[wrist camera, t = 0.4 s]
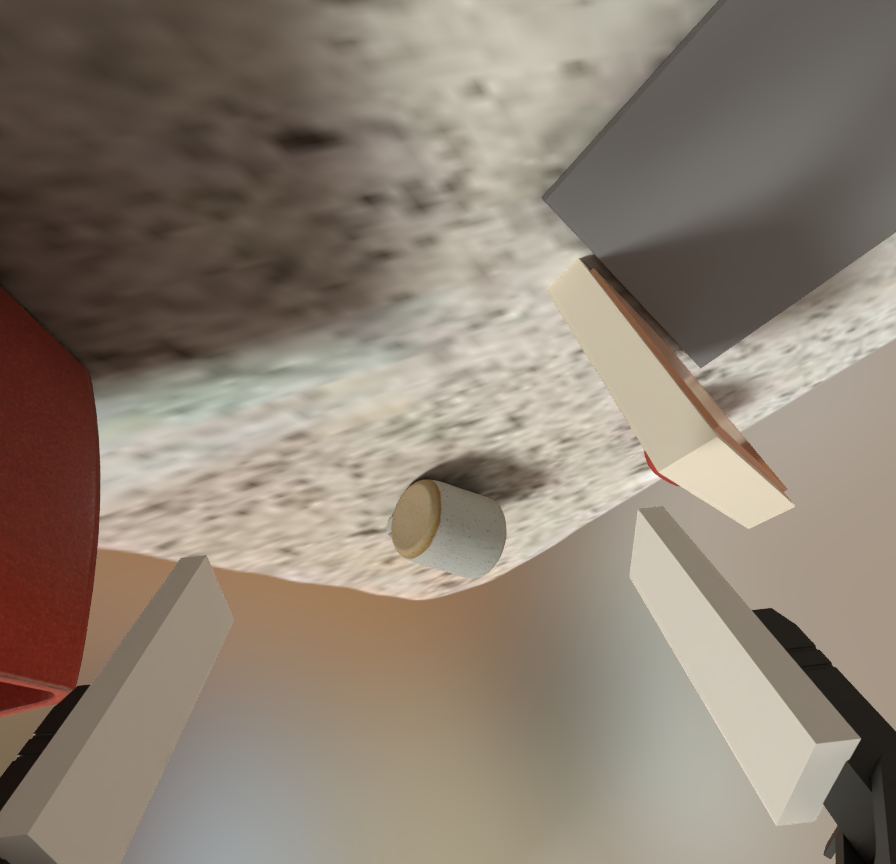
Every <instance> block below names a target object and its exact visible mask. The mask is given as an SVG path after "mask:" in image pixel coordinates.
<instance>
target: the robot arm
mask: <svg viewBox="0 0 896 864" xmlns="http://www.w3.org/2000/svg"><path fill="white" fill-rule="evenodd" d="M630 579H631V580H632V582H633V584H634V585H635V587H636V589H637V590H638V592H639V594H640V595H641V597H642V599H643V600H644V602H645V604H646V606H647V607H648V609H649V611H650V612H651V614H652V616H653V618H654V619H655V621H656V623H657V624H658V626H659V628H660V629H661V631H662V633H663V635H664V636H665V638H666V640H667V641H668V643H669V645H670V646H671V648H672V650H673V652H674V653H675V655H676V657H677V658H678V660H679V662H680V663H681V665H682V667H683V668H684V670H685V672H686V674H687V675H688V677H689V679H690V680H691V682H692V684H693V685H694V687H695V689H696V691H697V692H698V694H699V695H700V697H701V699H702V701H703V702H704V704H705V706H706V708H707V709H708V711H709V712H710V714H711V716H712V718H713V719H714V721H715V723H716V724H717V726H718V728H719V730H720V731H721V733H722V735H723V736H724V738H725V739H726V741H727V743H728V745H729V746H730V748H731V750H732V751H733V753H734V755H735V757H736V758H737V760H738V762H739V764H740V765H741V767H742V769H743V770H744V772H745V774H746V775H747V777H748V779H749V780H750V782H751V784H752V786H753V787H754V789H755V791H756V792H757V794H758V796H759V797H760V799H761V801H762V803H763V804H764V806H765V808H766V809H767V811H768V813H769V814H770V816H771V818H772V820H773V821H774V823H775V825H776V826H779V825H789V824H798V823H806V822H814V821H815V820H816V819H817V817H818V815H819V813H820V811H821V810H822V808H823V806H825V807H826V809H827V810H828V812H829V813H830V815H831V816H832V817H833V819H834V820H835V822H836V823H837V825H838V826H837V828H836V829H835V831H834V833H833V834H832V836H831V838H830V839H829V841H828V843H827V845H826V848H825V851H824V856H826V857H828V858H829V859H831V858H832V857H833V855H834V854H835V852H836V864H896V731H895V730H894V729H893V728H892V727H891V726H890V725H889V724H888V723H887V722H886V721H885V719H884V718H883V717H882V716H881V715H880V714H879V713H878V712H877V711H876V710H875V709H874V708H873V707H872V706H871V704H870V703H869V702H868V701H867V700H866V699H865V698H864V697H863V696H862V695H861V694H860V693H859V692H858V691H857V689H855V687H854V686H853V685H852V684H851V683H850V682H849V681H848V680H847V679H846V678H845V677H844V676H843V674H842V673H841V672H840V671H839V670H838V669H837V668H836V667H833V666H832V663H831V662H830V661H829V659H828V658H827V657H825V655H824V654H823V653H822V652H821V651H820V650H817V649H816V647H815V645H814V643H813V642H812V641H811V640H810V639H809V638H808V637H807V636H806V635H805V634H804V633H803V632H802V631H801V629H800V628H799V627H798V626H797V625H796V624H794V623H793V622H791V621H789V620H788V619H787V618H785V617H784V616H782V615H781V614H779V613H778V612H776V611H775V610H773V609H772V608H768V609H759V610H751V609H750V608H749V607H748V606H747V604H746V603H745V602H744V601H743V600H742V599H741V597H740V596H739V595H738V594H737V593H736V591H735V590H734V589H733V588H732V587H731V586H730V585H729V583H728V582H727V581H726V580H725V579H724V577H723V576H722V575H721V574H720V573H719V572H718V571H717V569H716V568H715V567H714V566H713V564H712V563H711V562H710V561H709V560H708V559H707V557H706V556H705V555H704V554H703V553H702V552H701V550H700V549H699V548H698V547H697V546H696V545H695V543H694V542H693V541H692V540H691V539H690V538H689V536H688V535H687V534H686V533H685V532H684V530H683V529H682V528H681V527H680V526H679V525H678V523H677V522H676V521H675V520H674V519H673V518H672V517H671V515H670V514H669V513H668V512H667V511H666V509H665V508H664V507H663V506H661V507H653V508H642V509H638V513H637V522H636V529H635V537H634V545H633V553H632V562H631V569H630ZM233 621H234V618H233V616H232V613H231V611H230V609H229V606H228V604H227V602H226V600H225V597H224V595H223V592H222V590H221V588H220V585H219V583H218V581H217V578H216V576H215V574H214V571H213V569H212V567H211V564H210V562H209V560H208V557H207V555H204V556H195V557H185V558H181V559H180V560H179V562H178V563H177V564H176V566H175V567H174V569H173V570H172V571H171V573H170V574H169V576H168V577H167V579H166V580H165V582H164V583H163V584H162V585H161V587H160V588H159V590H158V591H157V592H156V594H155V595H154V597H153V598H152V599H151V601H150V602H149V604H148V605H147V607H146V608H145V609H144V611H143V612H142V613H141V615H140V616H139V618H138V619H137V621H136V622H135V623H134V625H133V626H132V627H131V629H130V630H129V632H128V633H127V635H126V636H125V637H124V639H123V640H122V642H121V643H120V644H119V646H118V647H117V649H116V650H115V651H114V653H113V654H112V655H111V657H110V658H109V660H108V661H107V662H106V664H105V665H104V667H103V668H102V669H101V671H100V672H99V674H98V675H97V677H96V678H95V679H94V681H93V682H92V684H91V685H82V686H77V687H76V688H75V689H74V690H73V691H72V692H70V693H69V694H68V695H67V696H66V697H65V698H64V699H63V700H62V701H60V702H59V703H58V704H57V705H56V706H55V707H54V708H53V709H52V710H51V711H50V713H49V714H48V715H47V717H46V718H45V719H44V721H43V722H42V723H41V725H40V726H39V727H38V728H37V730H36V731H35V732H34V734H33V738H32V739H30V740H29V741H28V742H27V743H26V744H25V746H24V747H23V748H22V750H21V751H20V752H19V754H18V755H17V759H16V761H13V762H12V763H11V764H10V766H9V767H8V768H7V769H6V771H5V772H4V773H3V775H2V776H1V777H0V864H120V863H121V861H122V859H123V857H124V854H125V852H126V850H127V848H128V846H129V844H130V842H131V839H132V837H133V835H134V833H135V831H136V829H137V827H138V824H139V822H140V820H141V818H142V816H143V814H144V812H145V810H146V807H147V805H148V803H149V801H150V799H151V797H152V794H153V793H154V790H155V788H156V786H157V784H158V782H159V780H160V777H161V775H162V773H163V771H164V769H165V767H166V765H167V763H168V760H169V758H170V756H171V754H172V752H173V750H174V748H175V746H176V743H177V741H178V739H179V737H180V735H181V732H182V731H183V728H184V726H185V724H186V722H187V720H188V718H189V716H190V713H191V711H192V709H193V707H194V705H195V703H196V701H197V698H198V696H199V694H200V692H201V690H202V688H203V686H204V683H205V681H206V679H207V677H208V675H209V673H210V671H211V669H212V666H213V664H214V662H215V660H216V658H217V655H218V654H219V651H220V649H221V647H222V645H223V643H224V641H225V639H226V636H227V634H228V632H229V630H230V628H231V626H232V624H233Z"/></svg>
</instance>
